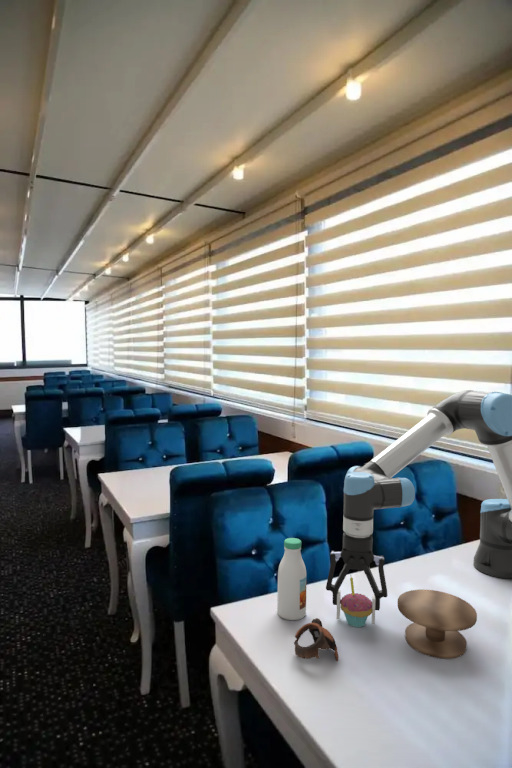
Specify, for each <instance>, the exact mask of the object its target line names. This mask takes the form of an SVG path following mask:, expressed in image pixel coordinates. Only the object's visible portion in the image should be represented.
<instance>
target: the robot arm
mask: <svg viewBox="0 0 512 768" xmlns="http://www.w3.org/2000/svg"><path fill="white" fill-rule="evenodd" d="M426 414H427V415H426V416H425V417H424V418H423V419H422V420H420V421H419V422H418V423H416V424H415V425H414V426H413V427H411V428H410V429H409V430H407V431H406V432H405V433H403V434H402V435H401V436H400V437H399V438H397V439H396V440H395V441H393V442H392V443H391V444H390V445H388V446H387V447H386V448H384V449H383V450H382V451H381V452H379V453H378V454H377V455H376V456H375V457H373V458H372V459H371V460H370V461H368V462H367V463H365V464H364V465H363V466H362V465H354V466H352V467H350V468H349V469H348V470H347V472H346V474H345V477H344V481H343V483H344V484H343V517H342V518H343V522H342V530H343V533H342V549H341V551H335V550H331V552H330V555H329V556H330V562H331V563H330V567H329V570H328V571H329V572H328V576H327V581H326V586H325V589H326V591H331V593H332V605H334V606H336V620H340V618H341V604H340V599H341V597H342V596H341V589H340V588H341V586H342V584H343V582H344V580H345V579H346V577H347V574H348V573H349V571H350V570H358V571H363V572H364V574H365V576H366V578H367V579H366V580H367V581H368V583H369V585H370V588H371V590H372V597H371V598H372V599H371V601H372V609H373V612H372V613H371V625H376V624H375V623H376V611H380V609H381V598H387V597H388V587H387V581H386V576H385V570H384V567H385V566H384V565H385V557H384V555H375V554H374V552H373V532H374V510H382V509H395V508H399V509H400V508H402V507H407V506H411V505H412V504H413V503H414V500H415V498H416V494H415V493H416V491H415V486H414V484H413V482H412V481H411V480H410V479H408V478H407V477H395V478H393V477H394V476H395V475H397V474H398V473H399V472H400V471H402V470H403V469H404V468H406V467H407V466H408V465H409V464H410V463H411V462H413V461H414V460H415V459H417V458H418V457H419V456H420V455H421V454H423V453H424V452H425V451H427V450H428V449H429V448H430V447H432V445H434V444H435V443H436V442H438V441H439V440H440V439H442V438H443V437H444V436H451V435H452V434H453V433H455V432H456V431H458V430H462V429H467V430H472V431H475V434H476V437H477V439H478V441H479V443H480V444H481V445H483V446H486V447H487V449H488V452H489V455H490V457H491V460H492V462H493V465H494V467H495V470H496V472H497V475H498V478H499V481H500V484H501V486H502V489H503V491H504V494H505V496H506V498H490V499H485V500H483V501H482V502H481V504H480V506H481V507H480V512H479V514H480V517H479V523H480V524H479V525H480V526H479V544H478V547H477V548H476V551H475V554H474V556H473V564H472V565H473V567H474V568H475V569H476V570H477V571H479V572H481V573H483V574H485V575H487V576H491V577H495V578H499V579H501V578H502V579H509V580H511V579H512V394H509V393H505V392H502V391H501V392H500V391H492V392H491V391H480V390H479V391H478V390H470V389H469V390H461V391H458V392H456V393H453V394H451V395H449V396H447V397H445V398H444V399H442V400H441V401H439V402H438V403H437V404H435V405H434V406H433V407H431V408H430V409H428V411H427V413H426ZM340 558H341V559H342V560H343V562H344V565H343V568H342V570H341V571H340V572H339V575H338V576H337V580H336V581H335V583H334V584H333V578H334V576H335V569H336V565H337V562H338V561H340ZM372 562H375V565H376V566H378V575H379V581H380V582H379V583H380V587H381V590H380V589H379V586H378V584H377V581H376V580H375V578H374V575H373V572H372V570H371V567H370V564H371V563H372Z"/></svg>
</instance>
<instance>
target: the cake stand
mask: <svg viewBox="0 0 512 768" xmlns="http://www.w3.org/2000/svg"><path fill="white" fill-rule="evenodd" d="M397 609H398V611H399V612H400V614H401V615H402V616H403V617H404V618H406V619H407V620H409V621H411V622H412V623H409V625H407V626H406V628H405V631H404V637H405V640H406V643H407V644H408V645H409V646H410V647H411V648H412V649H413V650H415V651H417V652H418V653H421V654H422V655H425V656H427V657H432V658H435V659H441V660H453V659H458V658H460V657H462V656H463V655H464V654H466V652H467V648H468V647H467V639H466V638H465V636H464V635H463V634H462V633H461V631H465V630H469V629H471V628H472V627H474V626H475V625H476V623H477V621H478V620H477V619H478V613H477V610H476V609H475V608H474V607H473V606H472V605H471V604H470V603H469V602H467V601H466V599H465V600H464V599H462V598H461V597H459V596H457V595H453V594H452V593H447V592H443V591H441V590H440V591H439V590H434V589H424V588H423V589H412V590H409V591H405V592H403V593H401V594H400V595H399V596H398V597H397Z"/></svg>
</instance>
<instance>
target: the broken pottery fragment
mask: <svg viewBox="0 0 512 768" xmlns="http://www.w3.org/2000/svg"><path fill="white" fill-rule="evenodd" d="M307 631H309V634H310V635H311V637H312V640H313V643H312V644H310V645H308V646H302V645H300V644H299V641H300V639H301V636H302V635H303V634H304V633H305V632H307ZM294 638H295V640H294V642H293V644H294V653H295V655H296V656H297V657H298V658H300V659H302V660H305V659H306V660H307V659H308V660H309V659H312V658H316V659H318V660H319V659H321V658H320V652H319V649H321V650H322V651H323V650H326V651H327V650H328V651H329V650H332V651H333V652H334V656H335V661H336V662H338V661H339V658H340V657H339V652H338V646H337V642H336V641H335V638H334V636H333V635H332V633H331V632H330V631H329V630H328V629H327V628H326V627H324V626H323V623H322V620H320V618H317V617H316V618H313V619H312V620H311V621H310V622H309V623H306V624H303V625H302V626H301V627H300V628H299V629H297V630H296V632H295V635H294Z"/></svg>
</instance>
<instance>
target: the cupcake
mask: <svg viewBox="0 0 512 768" xmlns="http://www.w3.org/2000/svg"><path fill="white" fill-rule="evenodd" d="M349 581H350V589H351V593H348V594H347V593H346V594H345V595H344V596H341V598H340V611H342V612H343V614H344V617H345V619H346V624H348V625H350V627H354V628H361V627H364V626H365V625H366V623H367V620H368V617H369V616H372V612H373V609H372V599H370V598H368V596H366V595H365V594H362V593H358V592H357V593H355V587H354V578H353V577H352V574H350V578H349Z"/></svg>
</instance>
